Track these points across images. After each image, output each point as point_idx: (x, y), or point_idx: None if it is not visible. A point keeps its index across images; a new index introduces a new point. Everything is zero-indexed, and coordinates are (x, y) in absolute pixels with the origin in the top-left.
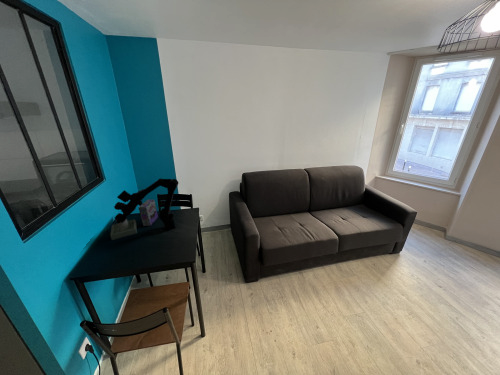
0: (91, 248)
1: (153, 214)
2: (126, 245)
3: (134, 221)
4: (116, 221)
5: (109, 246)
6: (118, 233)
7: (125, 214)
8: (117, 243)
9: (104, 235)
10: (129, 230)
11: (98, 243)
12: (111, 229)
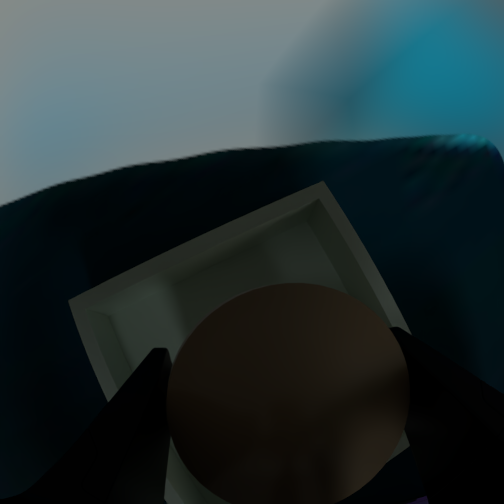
0: (30, 195)
1: None
2: (30, 476)
3: (398, 446)
4: (187, 336)
5: (19, 336)
6: (102, 386)
7: (442, 447)
8: (48, 392)
9: (201, 178)
10: (165, 499)
11: (77, 205)
12: (209, 233)
